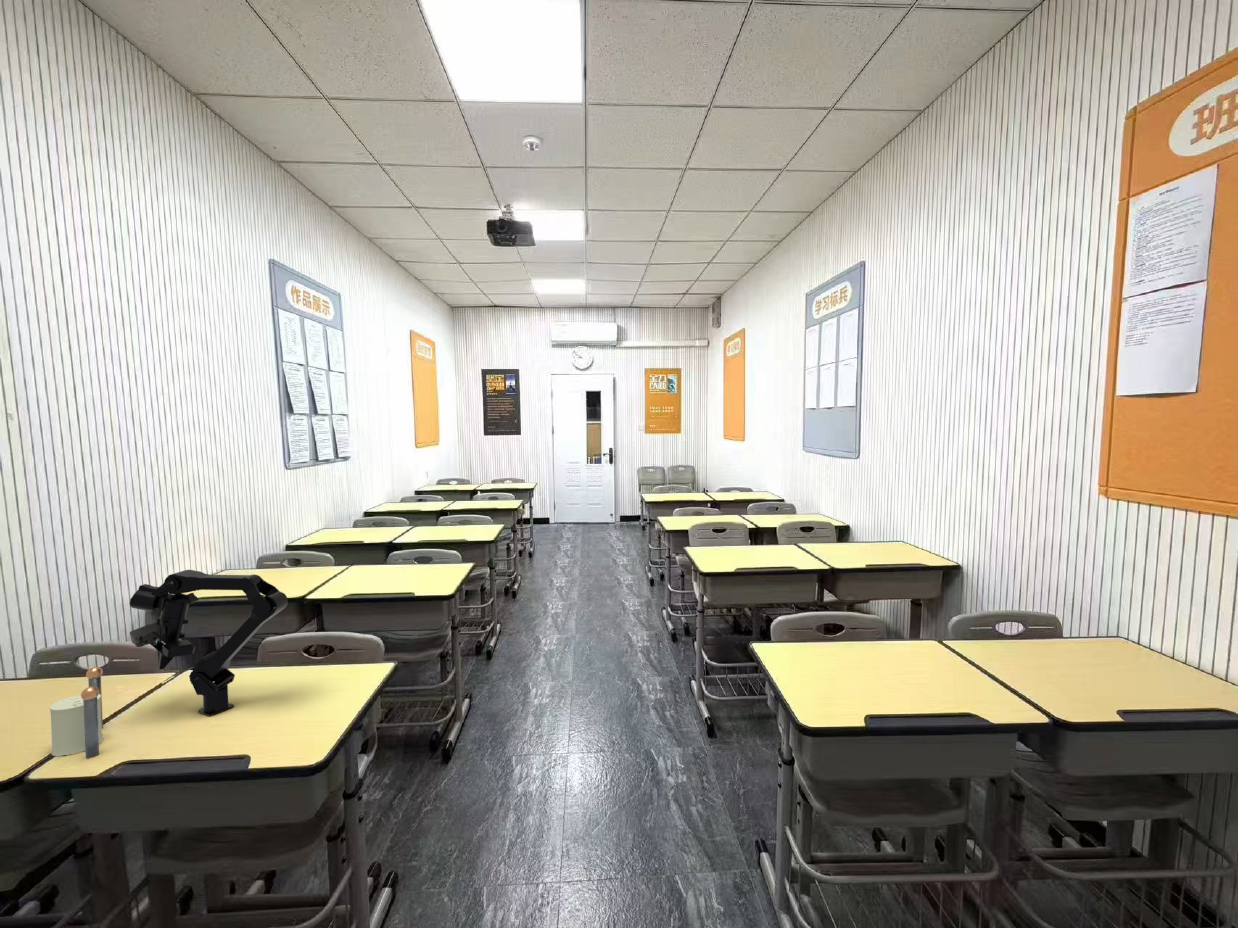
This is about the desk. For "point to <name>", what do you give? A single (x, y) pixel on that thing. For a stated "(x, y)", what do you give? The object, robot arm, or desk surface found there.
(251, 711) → the desk surface
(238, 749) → the desk surface
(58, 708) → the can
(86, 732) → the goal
